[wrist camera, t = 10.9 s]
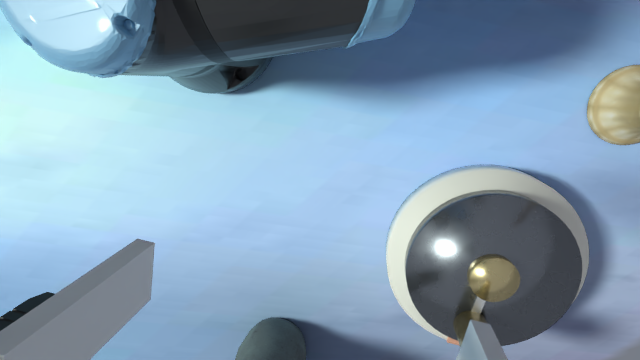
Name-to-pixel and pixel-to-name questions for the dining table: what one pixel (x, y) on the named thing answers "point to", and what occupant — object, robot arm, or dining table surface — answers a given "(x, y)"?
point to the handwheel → (493, 266)
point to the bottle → (273, 342)
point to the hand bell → (617, 107)
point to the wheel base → (457, 185)
